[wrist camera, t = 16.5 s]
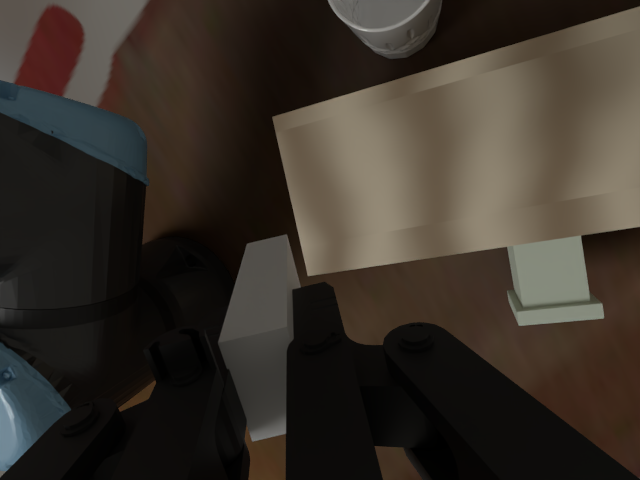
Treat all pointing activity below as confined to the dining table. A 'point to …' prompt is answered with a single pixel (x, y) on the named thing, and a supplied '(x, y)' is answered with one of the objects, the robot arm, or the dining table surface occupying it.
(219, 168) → the dining table surface
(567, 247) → the button
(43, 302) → the robot arm
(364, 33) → the white cup
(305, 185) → the console
